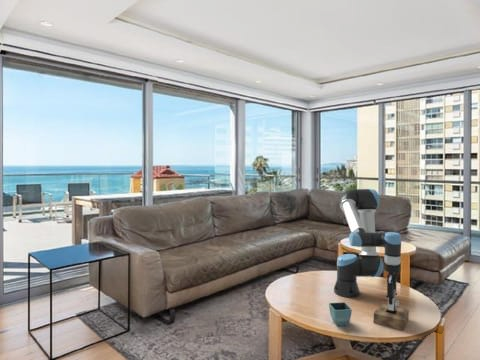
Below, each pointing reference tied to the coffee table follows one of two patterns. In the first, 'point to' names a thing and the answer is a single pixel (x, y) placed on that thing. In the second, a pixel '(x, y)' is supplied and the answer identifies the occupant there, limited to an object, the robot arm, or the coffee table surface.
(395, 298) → the grey metal peg
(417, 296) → the coffee table surface
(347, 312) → the flower pot
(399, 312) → the block
